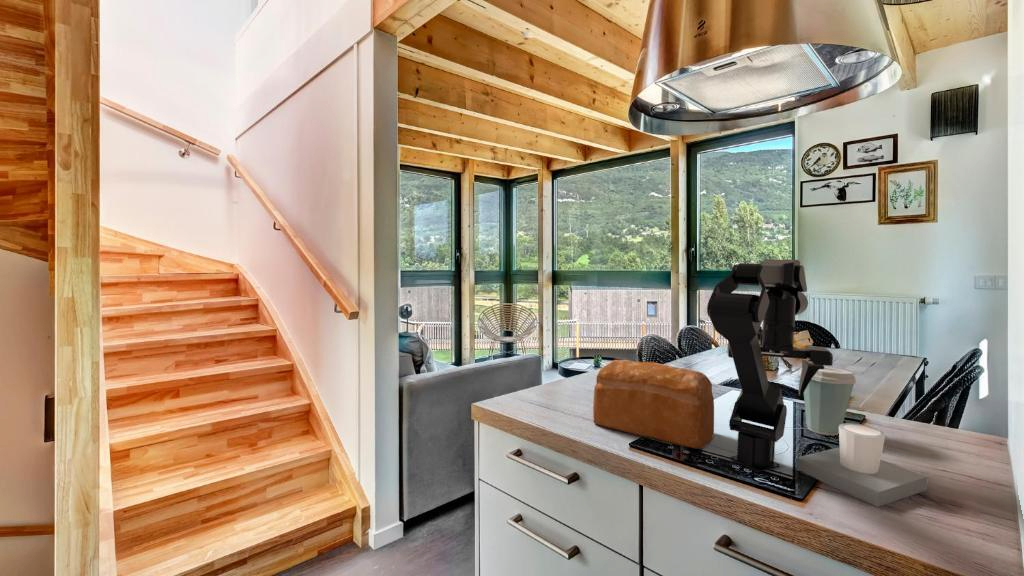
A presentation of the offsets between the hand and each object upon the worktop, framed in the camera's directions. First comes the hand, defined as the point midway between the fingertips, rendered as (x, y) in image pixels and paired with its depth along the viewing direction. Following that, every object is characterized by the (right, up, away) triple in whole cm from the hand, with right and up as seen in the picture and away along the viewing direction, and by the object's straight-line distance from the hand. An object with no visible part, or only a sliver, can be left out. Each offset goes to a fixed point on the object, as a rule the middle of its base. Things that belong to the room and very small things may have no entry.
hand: (775, 392), depth 99 cm
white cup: (+8, -11, -13) cm, 19 cm away
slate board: (+8, -13, -13) cm, 20 cm away
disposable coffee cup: (+18, -12, +11) cm, 24 cm away
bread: (-23, -11, +11) cm, 28 cm away
